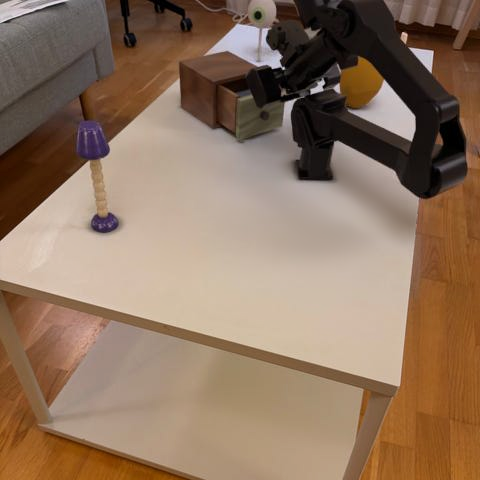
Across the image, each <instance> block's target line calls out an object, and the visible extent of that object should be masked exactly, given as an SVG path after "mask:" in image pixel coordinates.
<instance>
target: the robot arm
mask: <svg viewBox="0 0 480 480" xmlns="http://www.w3.org/2000/svg"><path fill="white" fill-rule="evenodd" d="M292 1H293V4H294V7H295V10H296V12H297V15H298V17H299V20H300V22H298V20H296V19H287V20H283V21H278V22H276V23H275V24H273V25H272V24H271V28H269V29H267V31H266V32H267V33H266V36H265V42H266V44H267V46H268V47H269V48H270V49H271V51H272V52H274V51H277V52H278V53H279V55H280V56H281V58H280V59H279V60H278V61H279V63H280V66H279V67H274V68H273V67H272V66H270V65H269V64H264V65H260V66H258V67H255V68H251V69H250V70H249V72H248V73H247V74H246V76H245V79H246V82H247V84H248V86H249V89H250V91H251V94H252V96H253V99H254V101H255V104H256V106H257V107H258V108H260V109H262V108H266V107H269V106H272V105H274V104H276V103H279V102H281V103H284V102H285V103H287V102H290V101H291V102H292V101H294V100H295V101H294V102H293V104H292V107H291V110H290V124H291V125H290V126H291V134H292V141H293V142H295V143H296V145H297V148H299V149H301V150H300V156H299V159H298V158H297V159H295V160H294V164H295V168H296V174H297V179H299V180H313V181H314V180H319V181H321V180H324V181H332V180H334V174H333V170H332V167H331V163H332V159H333V158H332V156H333V152H334V148H335V142H339V143H341V144H342V145H345V146H347V147H349V148H351V149H352V150H354V151H356V152H358V153H360V154H362V155H363V156H366V157H368V158H370V159H371V160H373V161H374V162H377V163H379V164H381V165H382V166H385V167H386V168H388V169H390V170H392V171H393V172H395V175H396V178H397V179H398V181H399V183H400V184H401V186H402V187H404V188H405V189H406V190H407V191H409V192H410V193H411V194H412V195H413V196H415V197H417V198H418V199H420V200H429V199H432V198H434V197H437V196H439V195H441V194H444V193H445V192H447V191H450V190H452V189H454V188H456V187H459V186H460V185H461V184H462V183H464V182H465V180H466V177H467V176H468V171H469V167H468V161H467V137H466V134H465V132H464V129H463V126H462V123H461V120H460V117H461V116H460V115H461V114H460V113H461V105H460V101H459V99H458V97H456V96H455V95H454V94H451V93H449V92H448V90H447V89H446V88H445V87H444V86H443V85H442V84H441V82H439V81H438V79H437V78H436V77H435V76H434V75H433V74H432V72H431V71H430V70H429V69H428V68H427V67H426V66H425V64H424V63H423V62H422V61H421V60H420V59H419V58H418V57H417V55H416V54H415V53H414V52H413V51H412V50H411V48H410V47H409V46H408V45H407V43H406V44H405V43H404V42H403V41H402V40H401V36H400V35H399V34H398V31H397V28H396V21H395V17H394V15H393V13H392V12H391V10H390V8H389V7H388V5H387V3H386V2H385V0H292ZM300 23H301V24H300ZM309 28H311V30H312V31H316V30H319V29H320V30H319V31H318V32H317V33H316V34H315V35H314V36H313V37H312V38H311V39H309V36H308V34H307V33H306V32H305V30H306V29H309ZM358 56H359V57H361V58H364V59H366V60H367V61H368V62H369V63H371V64H372V66H373V67H374V68H375V69H376V70H377V72H378V73H379V74H380V75H381V76H382V78H383V79H384V81H385V83H386V84H387V85H388V86H389V87H390V89H392V91H393V92H394V93H395V95H397V97H398V98H399V99H400V100H401V101H402V103H403V104H404V105H405V106H406V108H407V109H408V110H409V111H410V113H412V115H413V116H414V123H415V124H414V125H415V129H414V132H413V136H412V139H411V140H410V139H407V138H405V137H403V136H401V135H399V134H397V133H395V132H393V131H391V130H388V129H386V128H384V127H382V126H380V125H378V124H376V123H374V122H372V121H369V120H367V119H365V118H363V117H361V116H359V115H357V114H354V113H352V112H351V111H349V110H348V107H347V105H346V104H345V101H346V98H347V96H346V95H344V94H341V93H340V92H338V91H337V90H336V89H334V88H335V87H336V86H339V83H340V78H341V74H340V71H339V69H338V66H337V64H338V65H339V68H340V70H344V69H348V68H352V67H356V66H357V65H358V60H359V59H358ZM283 68H284V69H283ZM322 81H323V83H324V84H323V85H322V86H321V87H322V90H321V91H318V92H314V93H312V90H313V89H316V88H317V87H318V86H319V83H321V82H322ZM438 136H440V138H441V141H442V144H439V143H436V142H437V139H438Z"/></svg>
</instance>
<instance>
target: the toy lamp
mask: <svg viewBox="0 0 480 480" xmlns="http://www.w3.org/2000/svg"><path fill="white" fill-rule="evenodd" d="M75 152H76V155H77V156H78V157H79V158H81V159H83V160H88V162H89V169H90V172H91V173H90V175H91V180H92V187H93V190H94V191H93V196H94V198H95V206H96V213H95V214H94V215H93V217H92V218H91V223H90V225H91V228H92V229H93V230H94V231H96V232H98V233H109V232H113V231H114V230H116V229H117V228H118V226H119V223H120V222H119V219H118V218H117V216H116V215H115V214H113V212H110V211H109V209H108V207H107V206H108V200H107V192H106V189H105V188H106V184H105V181H104V172H103V165H102V162H101V160H102V159H104V158H106V157H107V156H109V154H110V152H111V147H110V144H109V143H108V140H107V137H106V135H105V133H104V130H103V128H102V125H101V124H100V123H99V122H98V121H96V120H89V119H88V120H84V121H81V122H80V123H79V124H78V125H77V131H76V142H75Z"/></svg>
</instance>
